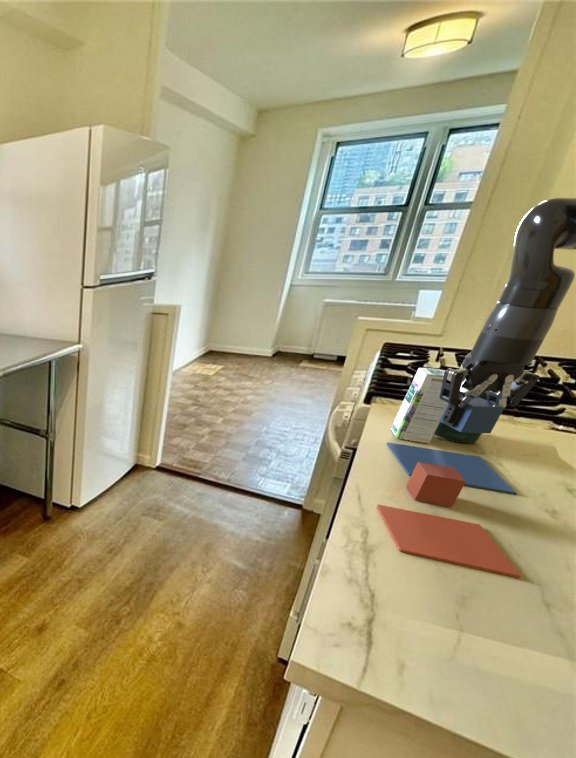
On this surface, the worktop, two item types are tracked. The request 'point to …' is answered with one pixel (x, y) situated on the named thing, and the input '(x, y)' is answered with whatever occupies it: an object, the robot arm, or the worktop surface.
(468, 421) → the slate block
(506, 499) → the worktop surface
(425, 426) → the syrup box
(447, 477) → the terracotta block
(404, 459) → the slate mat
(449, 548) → the terracotta mat
